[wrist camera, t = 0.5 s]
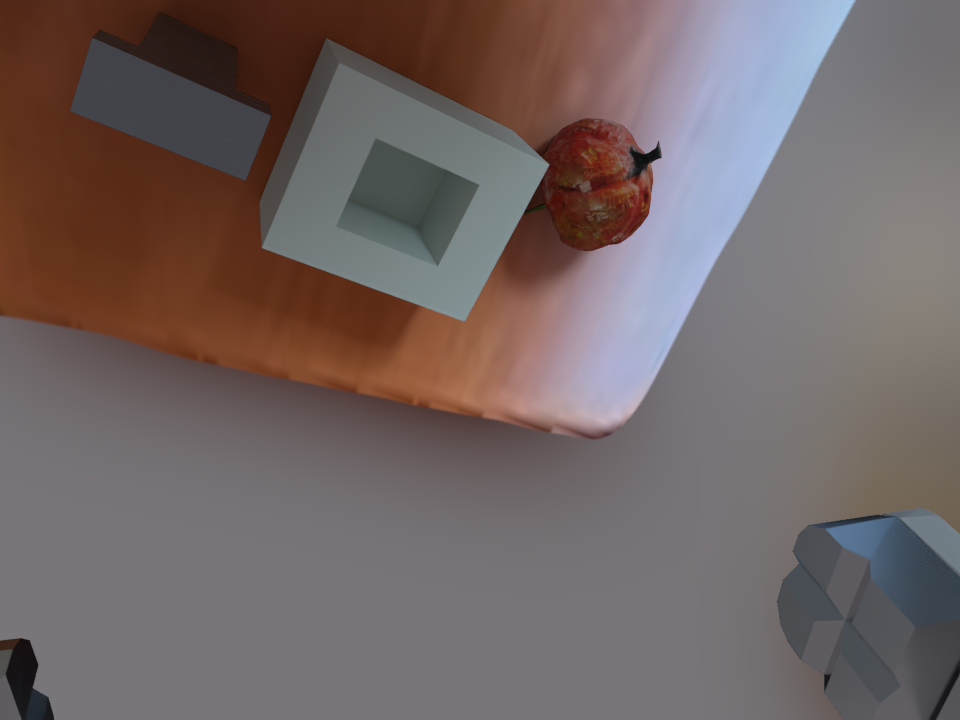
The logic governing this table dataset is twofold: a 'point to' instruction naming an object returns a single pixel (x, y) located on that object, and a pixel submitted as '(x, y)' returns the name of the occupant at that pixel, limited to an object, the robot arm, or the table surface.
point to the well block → (395, 185)
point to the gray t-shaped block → (174, 95)
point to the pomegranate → (596, 183)
